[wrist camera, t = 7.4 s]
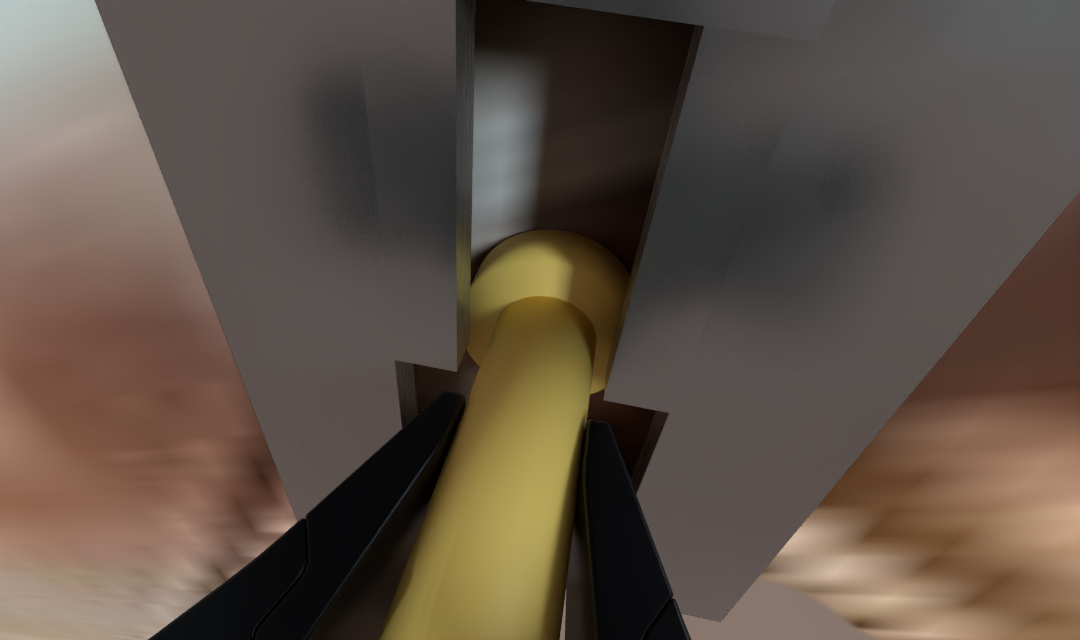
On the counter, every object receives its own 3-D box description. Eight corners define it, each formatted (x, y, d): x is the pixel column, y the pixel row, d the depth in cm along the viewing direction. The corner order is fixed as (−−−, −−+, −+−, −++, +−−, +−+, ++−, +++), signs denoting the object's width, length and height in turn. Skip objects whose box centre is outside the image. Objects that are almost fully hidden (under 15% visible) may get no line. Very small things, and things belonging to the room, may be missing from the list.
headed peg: (654, 246, 12) (663, 797, 4) (619, 374, 14) (587, 851, 7) (475, 216, 12) (204, 685, 5) (473, 347, 15) (299, 777, 7)
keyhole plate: (1487, -706, 5) (2367, -1359, 2) (711, 533, 18) (720, 622, 16) (44, -776, 5) (-408, -1293, 3) (342, 456, 19) (301, 530, 17)
